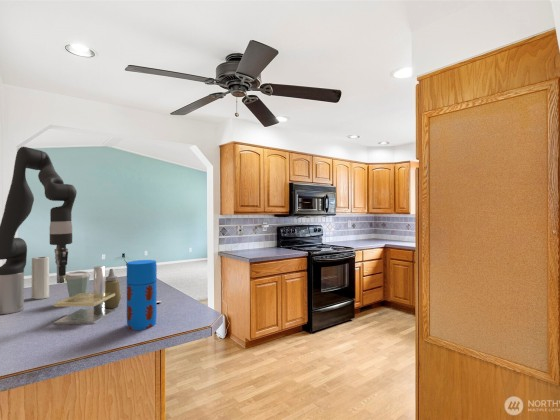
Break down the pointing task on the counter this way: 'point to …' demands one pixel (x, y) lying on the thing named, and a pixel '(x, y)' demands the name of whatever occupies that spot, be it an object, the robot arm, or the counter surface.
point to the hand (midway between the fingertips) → (61, 274)
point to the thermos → (141, 294)
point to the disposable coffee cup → (77, 282)
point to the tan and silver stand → (88, 302)
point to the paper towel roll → (40, 277)
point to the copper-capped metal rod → (60, 278)
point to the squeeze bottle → (112, 290)
